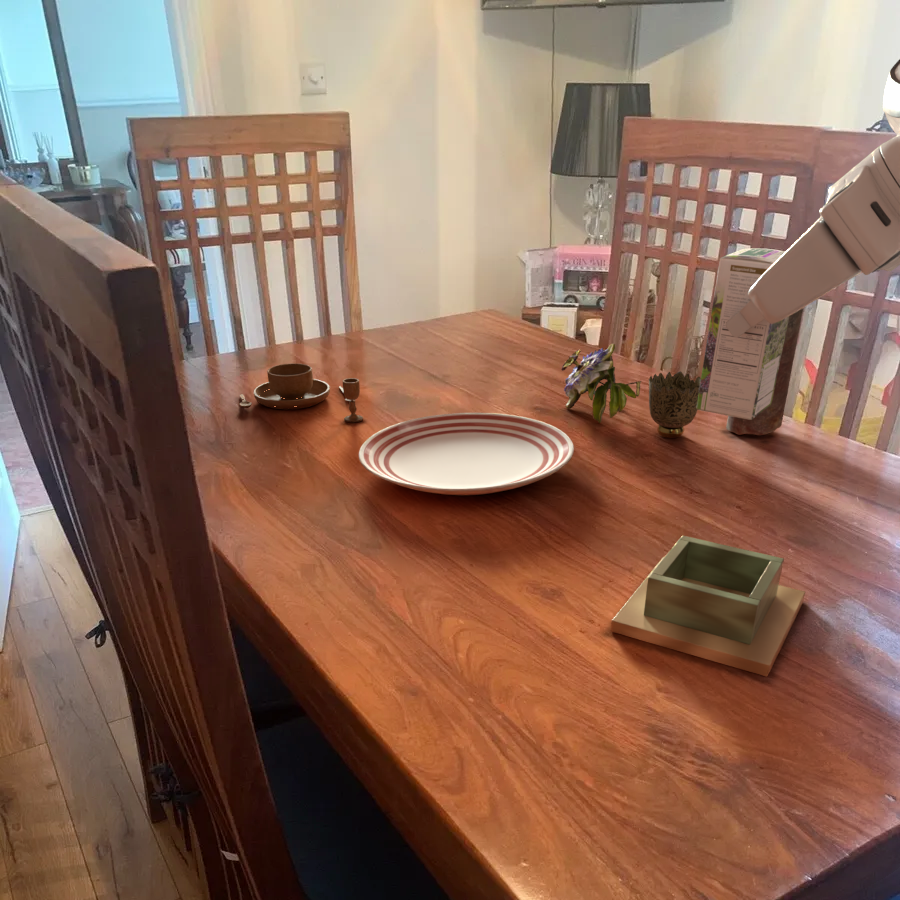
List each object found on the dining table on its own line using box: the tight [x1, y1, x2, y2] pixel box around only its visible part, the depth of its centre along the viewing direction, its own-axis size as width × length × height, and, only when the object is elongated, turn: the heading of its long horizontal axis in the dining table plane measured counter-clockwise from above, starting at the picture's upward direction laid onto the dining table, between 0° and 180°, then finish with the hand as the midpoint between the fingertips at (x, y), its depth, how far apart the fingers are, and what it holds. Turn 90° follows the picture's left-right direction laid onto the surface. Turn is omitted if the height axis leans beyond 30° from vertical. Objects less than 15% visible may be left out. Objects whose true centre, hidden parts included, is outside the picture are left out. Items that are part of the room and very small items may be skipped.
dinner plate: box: [358, 412, 575, 496], centre depth 111 cm, size 27×27×3 cm
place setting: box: [239, 362, 364, 423], centre depth 132 cm, size 18×20×6 cm
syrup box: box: [696, 247, 789, 420], centre depth 82 cm, size 6×6×14 cm
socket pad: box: [610, 535, 806, 677], centre depth 79 cm, size 14×14×5 cm
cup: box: [648, 371, 701, 439], centre depth 119 cm, size 8×7×8 cm
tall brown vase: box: [725, 308, 804, 436], centre depth 117 cm, size 8×7×20 cm
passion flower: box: [560, 343, 642, 424], centre depth 129 cm, size 11×11×12 cm
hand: (742, 321), depth 82 cm, fingers closed on syrup box, 6 cm apart
